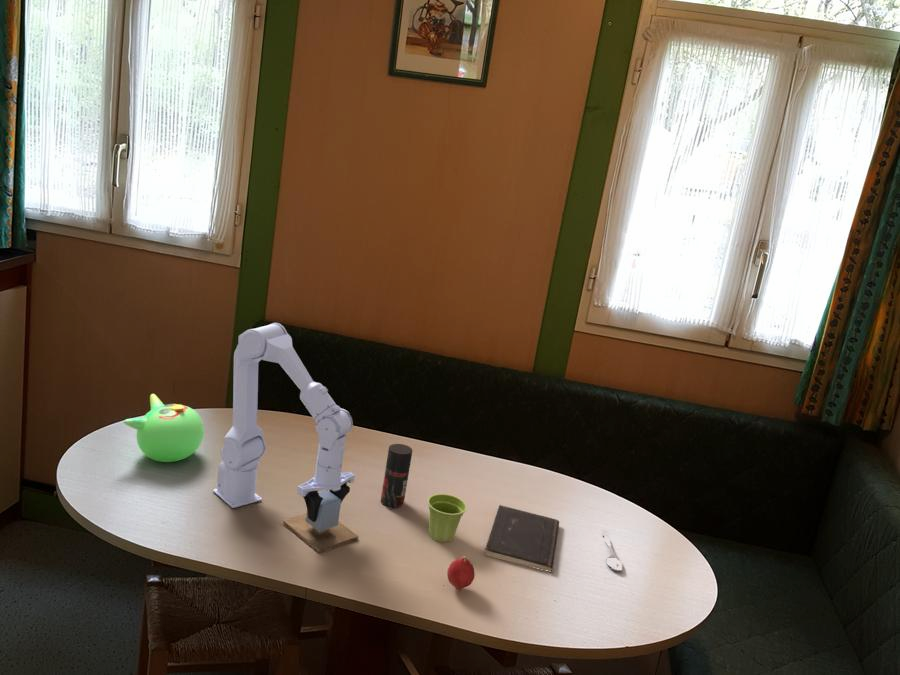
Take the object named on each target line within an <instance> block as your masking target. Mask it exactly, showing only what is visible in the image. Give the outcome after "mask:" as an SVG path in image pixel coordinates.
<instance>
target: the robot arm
mask: <svg viewBox="0 0 900 675" xmlns="http://www.w3.org/2000/svg"><path fill="white" fill-rule="evenodd" d="M233 353H234V354H233V385H232V386H233V387H232V388H233V390H232V391H233V393H232V394H233V395H232V396H233V397H232V400H233V401H232V426H231V428H230V429H229V431H228V432H227V433H226V434H225V436H224V437H223V439H224V440H223V442H224V443H223V446H222V448H221V450H220V457H221V462H220V463H219V466H218V471H217V479H216V480H217V481H216V488H214V489H213V491H212V492H214V494H216V495H217V496H218V497H219V498H220V499H221V500H223V501H224V503H226V504H228V506H229V507H231V508H232V509H234V508H238V507H239V508H240V507H243V506H247V505H250V504H253V503H257V502H261V501H262V500H263V498H262V497H261V496H259V494H257V493H256V488H257V487H256V485H257V479H258V478H257V477H258V467H259V463H260V458H261V457H263V456H264V455H265V453H266V451H267V443H266V441H265V438H264V430H263V428H262V427H260V426H258V397H259V395H258V394H259V393H258V392H259V363H260V361H266V362H271V363H276V364H279V365H280V367H281V368H282V369H283V370H284V371H285V373H286V374H287V375H288V377H289V378H290V379H291V381H293V383H294V385H296V386H297V388H298V389H299V390H300V392H299V400H301V402H302V403H303V405H304V406H305V408H306V409H307V411H308V413H309V414H310V415H311V417H312V419H313V420H314V421H315V422H316V425H315V431H316V434H317V435H318V449H317V457H316V464H315V471H314V473H315V474H314V476H313V477H312V478H310V479H309V480H307V481H306V482H304V483H301V484H300V485H297V492H296V494H297V495H298V496H299V497H301V498H303V499H304V502H305V507H306V513H307V512H308V518H309V519H310V520H311V521H312V522H315V521H316V519H317V515H318V509H319V506H320V503H321V501H322V500H323V498H322V497H320V496H319V492H320V491H326V490H328V491H330V492H331V493H332V494H334V495H335V496H337V497H338V498H339V499H341V504H342V503H343V501H344V499H345V498H346V497H347V495H348V494H349V493H350V491H351V488H350V486H348V483H349V484H353V483H355V474H354V473H352V472H351V471H347V472H342V467H343V462H344V454H345V448H346V440H347V434H348V433H349V432H351V430H352V428H353V425H354V424H353V423H354V422H353V418H352V415H350V414H351V413H350V412H349V411H348V410H346V409H344V408H341V407H340V405H337V404H336V402H335V401H334V399H333V398H332V397H331V395H330V394H329V393H328V392H329V389H328V388H327V387H326V386H324V385H323V384H322V383H320V382H316V381H314V379H313V378H312V376H311V375H310V373H309V371H308V370H307V368H306V366H305V365H304V364H303V362H302V360H301V358H300V356H299V355H298V354H297V352H296V350H295V348H294V346H293V338H292V336H291V335H290V334H289V333H288V332H287V330H286V328H285V326H284V325H282V324H281V323H279V322H272V323H270V324H268V325H264V326H259V327H256V328H250V329H246V330H245V331H243V332H242V333H241V334H239V335H238V344H237V345H236V349H235V350H234V352H233Z"/></svg>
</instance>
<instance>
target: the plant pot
mask: <svg viewBox="0 0 900 675" xmlns="http://www.w3.org/2000/svg"><path fill="white" fill-rule="evenodd" d="M427 504H428V509H429V516H428V517H429V520H428V522H429V523H428V534H429V536H430V538H431V539H432V540H435V541H436V542H440V543H444V542H451V541H453V540H454V538H455V535H456V532H457V529H458V527H459V523H460V521H461V518H462V516H464V514H465V513H466V511H467V507H468V505H467V503H466V502H465V501H464V499H463V500H462V499H461V498H460V497H458V496H455V495H453V494H448V493H447V494H446V493H437V494H436V493H435V494H433V495H430V497H428V499H427Z"/></svg>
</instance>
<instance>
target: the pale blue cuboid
mask: <svg viewBox="0 0 900 675" xmlns="http://www.w3.org/2000/svg"><path fill="white" fill-rule="evenodd" d="M318 493H319V496H320V497H322V498H323V500H322V501H321V503H320V506H319V509H318V515H317V519H316V521H315V522H312V521H311V520H310V519H309V518H308V512H307V511H306V513H307V516H306V522H308V523H309V524H310V525H311V526H313V527H314V528H315V529H317V530H318V531H319V532H320V531H323V530H326V529H329V528H332V527H335V526H338V521H339V519H340V514H341V513H340V511H341V505H342V503H341V499H339V498H338V497H337V496H335V495H334V494H332V493H331V492H330V491H329V490H321V491H318Z"/></svg>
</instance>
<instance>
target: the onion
mask: <svg viewBox="0 0 900 675" xmlns="http://www.w3.org/2000/svg"><path fill="white" fill-rule="evenodd" d="M446 573H447V574H446V575H447V580H448V582H449V584H451V585H452V586H453V587H454V588H455V590H457V591H460V590H462V589H464V588H467V587H469V586H471V584H472V583H473V582H474V579H475V576H476V575H475V574H476V572H475V568H474V565H473V564H472V562H471V561H470V560H469V559H467V557H466V555H465V556H462V557H459V558H457V559H455V560H453V561H452V562H450V564H449V566H448V568H447V572H446Z"/></svg>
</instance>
